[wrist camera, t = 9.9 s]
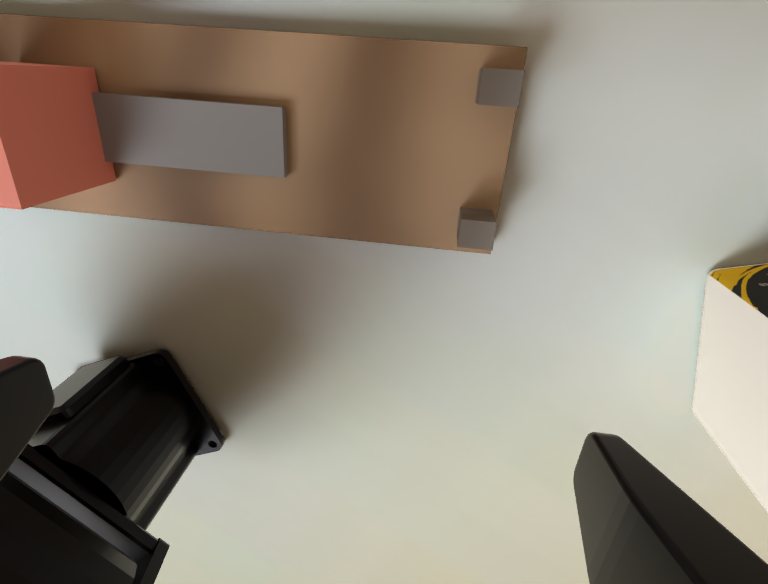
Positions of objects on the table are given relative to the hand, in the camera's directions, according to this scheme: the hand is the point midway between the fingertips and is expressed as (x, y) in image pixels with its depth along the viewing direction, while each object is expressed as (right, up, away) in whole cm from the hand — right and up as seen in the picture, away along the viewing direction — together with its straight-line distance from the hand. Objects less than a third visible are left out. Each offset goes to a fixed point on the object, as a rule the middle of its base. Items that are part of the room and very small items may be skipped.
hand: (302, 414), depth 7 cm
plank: (-5, +8, +10) cm, 14 cm away
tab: (-7, +8, +9) cm, 14 cm away
